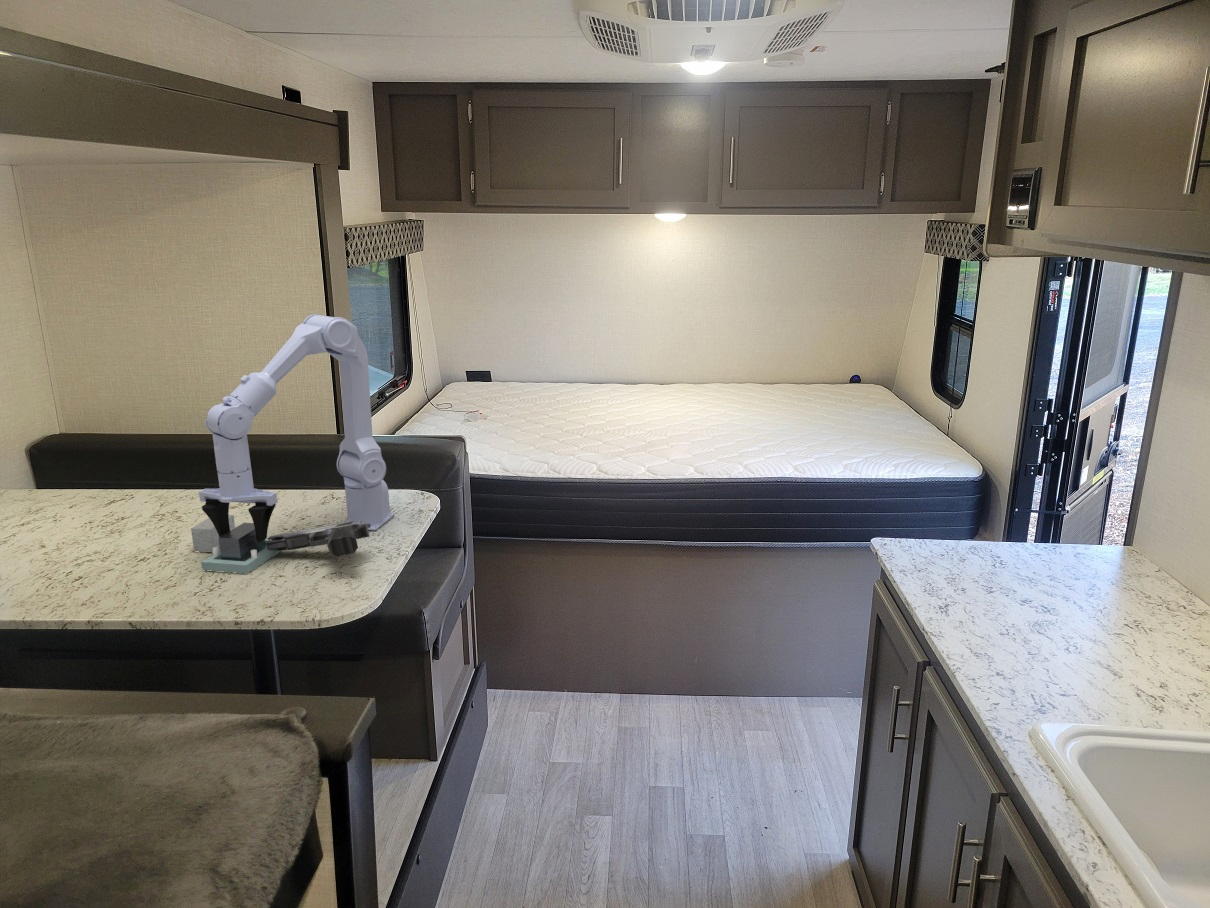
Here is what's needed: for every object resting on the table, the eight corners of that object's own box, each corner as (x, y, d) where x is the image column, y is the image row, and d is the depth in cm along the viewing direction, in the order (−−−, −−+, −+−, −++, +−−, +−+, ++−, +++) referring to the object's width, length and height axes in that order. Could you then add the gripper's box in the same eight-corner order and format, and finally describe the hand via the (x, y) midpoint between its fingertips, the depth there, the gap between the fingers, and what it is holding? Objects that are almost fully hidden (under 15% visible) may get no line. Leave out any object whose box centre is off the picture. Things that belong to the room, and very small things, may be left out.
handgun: (353, 535, 148) (374, 515, 159) (242, 555, 149) (270, 534, 161) (358, 553, 148) (378, 531, 160) (247, 572, 150) (275, 549, 162)
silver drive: (218, 537, 169) (214, 514, 168) (236, 538, 169) (233, 515, 168) (194, 552, 162) (190, 528, 160) (213, 553, 161) (210, 529, 160)
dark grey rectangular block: (241, 564, 154) (238, 539, 152) (221, 563, 154) (218, 537, 153) (266, 548, 161) (263, 523, 160) (247, 546, 162) (244, 522, 161)
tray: (244, 544, 165) (242, 529, 164) (286, 547, 164) (284, 532, 163) (202, 571, 153) (200, 554, 152) (247, 574, 151) (245, 557, 151)
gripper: (184, 473, 151) (195, 544, 155) (258, 477, 149) (267, 549, 152) (208, 462, 158) (218, 530, 161) (279, 466, 155) (287, 535, 159)
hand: (243, 538), depth 157 cm, fingers open, 7 cm apart
